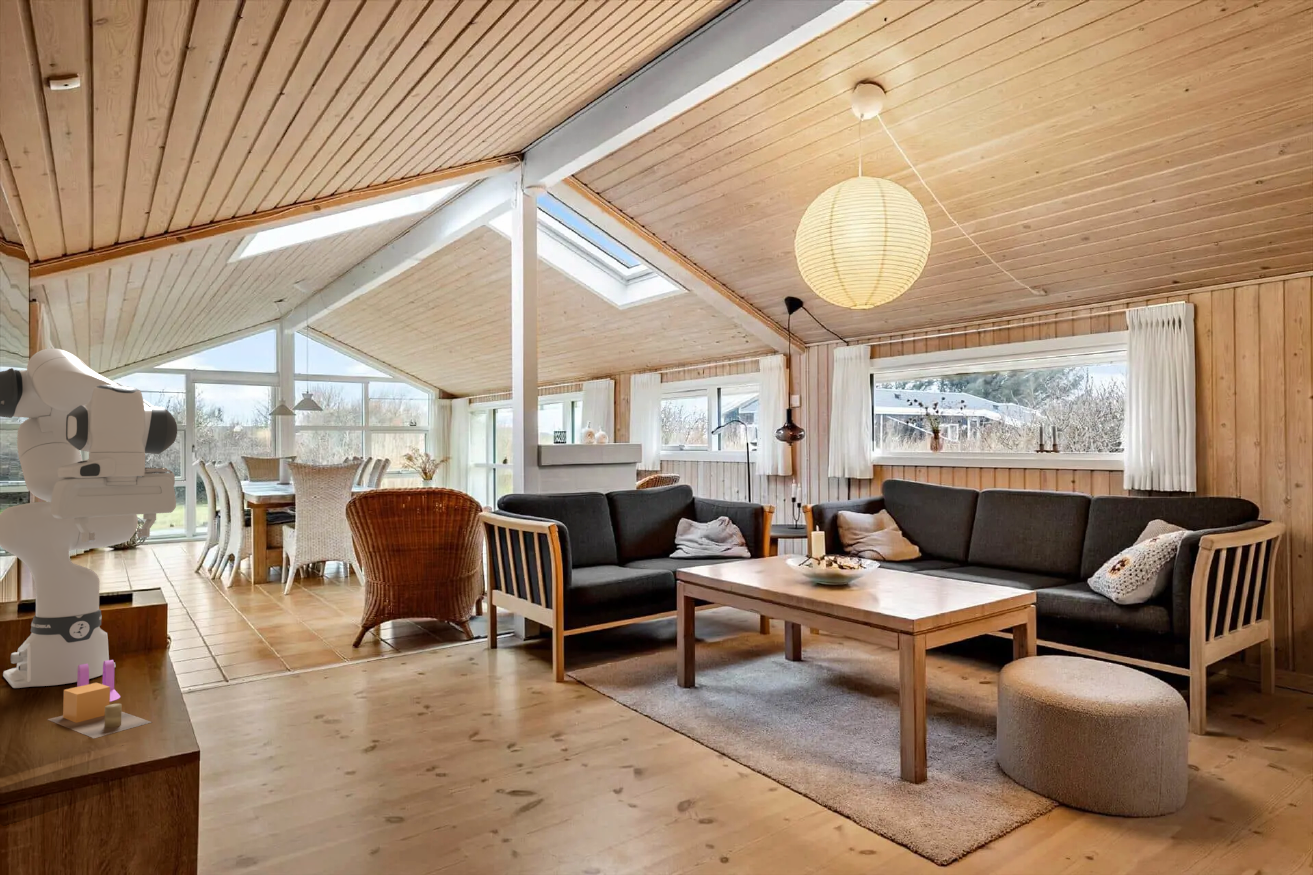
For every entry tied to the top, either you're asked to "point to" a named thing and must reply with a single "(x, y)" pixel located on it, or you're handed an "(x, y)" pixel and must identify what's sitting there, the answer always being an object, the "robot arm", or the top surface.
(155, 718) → the top surface
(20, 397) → the robot arm
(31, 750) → the top surface
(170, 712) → the top surface
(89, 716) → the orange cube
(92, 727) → the peg board
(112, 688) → the bracket
